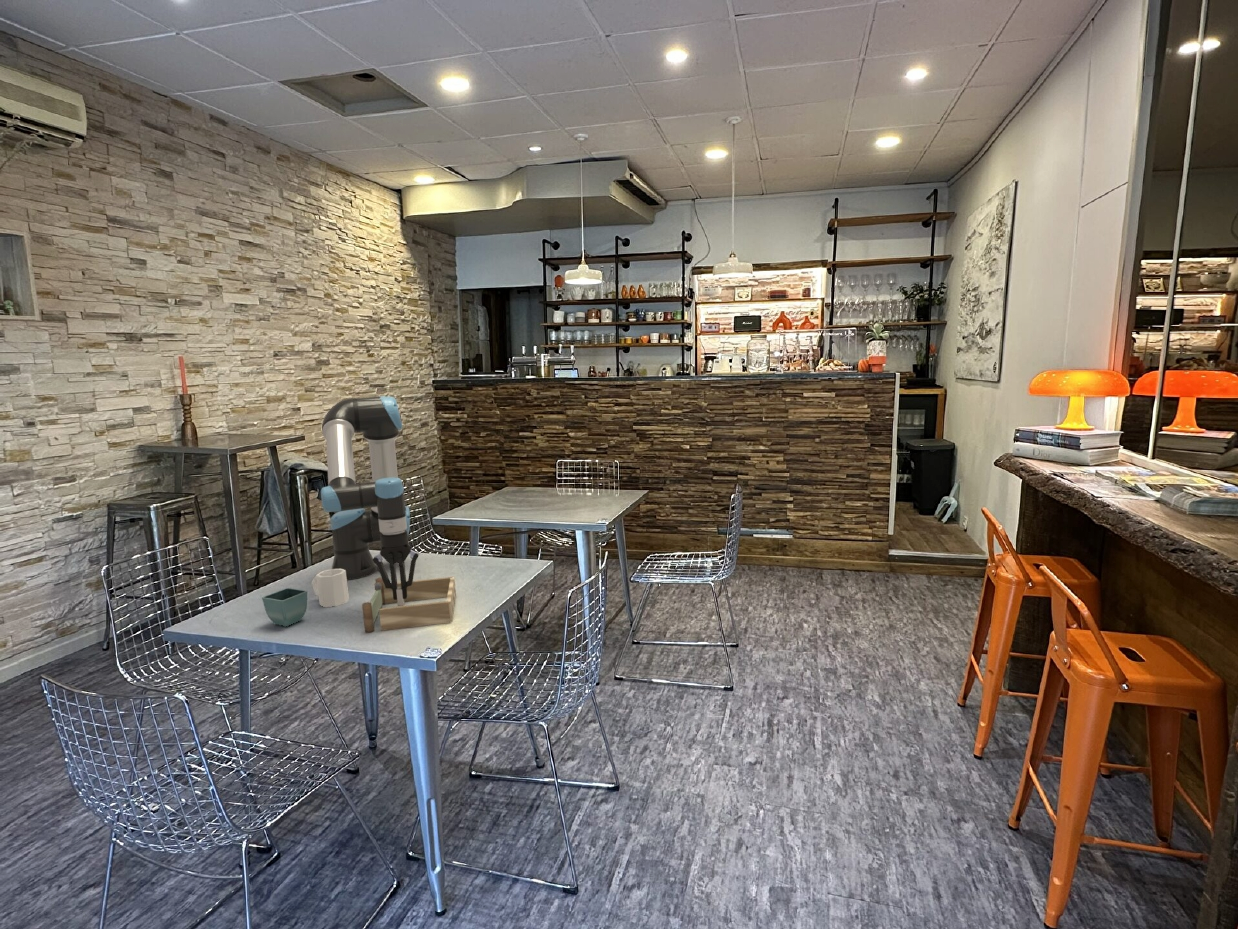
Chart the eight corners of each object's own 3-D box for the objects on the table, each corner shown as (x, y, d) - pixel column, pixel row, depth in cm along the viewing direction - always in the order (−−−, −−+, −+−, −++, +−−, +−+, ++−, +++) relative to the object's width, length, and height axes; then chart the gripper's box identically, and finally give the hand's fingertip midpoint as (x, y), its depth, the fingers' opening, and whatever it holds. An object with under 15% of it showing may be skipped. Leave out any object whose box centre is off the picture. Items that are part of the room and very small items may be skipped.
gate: (374, 625, 183) (371, 602, 182) (366, 626, 182) (363, 603, 181) (383, 603, 200) (381, 582, 199) (377, 603, 200) (374, 582, 199)
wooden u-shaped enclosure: (378, 602, 204) (375, 578, 202) (456, 594, 208) (454, 570, 207) (364, 633, 180) (361, 606, 179) (452, 622, 184) (449, 596, 183)
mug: (354, 598, 208) (351, 569, 207) (334, 608, 200) (330, 578, 199) (325, 595, 212) (321, 567, 211) (304, 605, 204) (300, 575, 203)
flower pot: (311, 619, 192) (308, 590, 191) (286, 630, 184) (282, 600, 183) (291, 615, 196) (287, 587, 195) (265, 627, 188) (260, 597, 187)
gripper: (367, 537, 182) (376, 616, 185) (415, 532, 184) (423, 611, 188) (372, 530, 189) (380, 607, 193) (418, 526, 191) (425, 602, 195)
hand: (401, 609), depth 190 cm, fingers closed
